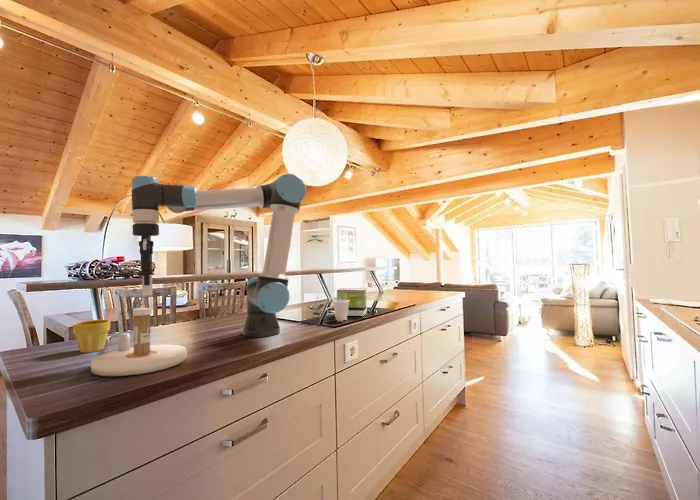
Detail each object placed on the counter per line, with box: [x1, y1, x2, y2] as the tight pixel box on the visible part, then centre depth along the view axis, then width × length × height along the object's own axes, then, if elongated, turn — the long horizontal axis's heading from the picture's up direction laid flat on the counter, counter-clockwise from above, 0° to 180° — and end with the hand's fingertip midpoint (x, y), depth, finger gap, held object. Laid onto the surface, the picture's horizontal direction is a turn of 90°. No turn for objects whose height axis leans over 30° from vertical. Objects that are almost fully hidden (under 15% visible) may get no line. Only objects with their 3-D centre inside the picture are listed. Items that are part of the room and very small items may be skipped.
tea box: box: [336, 287, 367, 317], centre depth 188 cm, size 15×10×15 cm
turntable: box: [90, 332, 188, 377], centre depth 102 cm, size 24×24×7 cm
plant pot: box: [72, 319, 111, 354], centre depth 120 cm, size 10×10×10 cm
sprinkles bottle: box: [132, 307, 152, 356], centre depth 102 cm, size 5×5×13 cm
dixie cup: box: [332, 299, 349, 322], centre depth 173 cm, size 8×8×10 cm
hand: (147, 295), depth 113 cm, fingers closed
